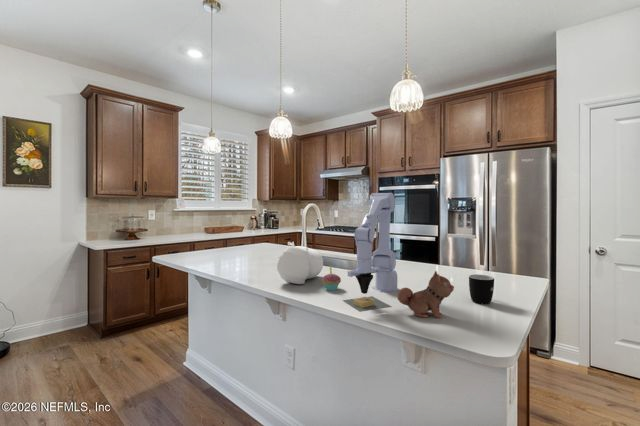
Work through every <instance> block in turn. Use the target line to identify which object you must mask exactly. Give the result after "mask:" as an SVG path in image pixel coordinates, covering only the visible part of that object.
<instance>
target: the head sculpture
mask: <svg viewBox="0 0 640 426" xmlns="http://www.w3.org/2000/svg"><path fill="white" fill-rule="evenodd" d="M287 245H288V246H287V247H286V248H285V249H284V250H283V251H282V253H281V255H280V256H279V257H278V260H277V263H276V270H277V272H278V274H279V276H280V278H281V280H283V281H285V282H288V283H290V284H295V285H303V284H305V283H306V280H308V279H313V278H316V277H317V276H319V275H320V273H321V272H322V270H323V267H324V259H323V256H322V255H321V253H320V252H319V251H317V250H316V249H313V248H311V247H310V248H309V247H308V246H303V245H302V246H301V245H297V246H296V245H295V244H294V243H293V242H291V241H288V242H287Z"/></svg>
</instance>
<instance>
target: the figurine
mask: <svg viewBox="0 0 640 426" xmlns="http://www.w3.org/2000/svg"><path fill="white" fill-rule="evenodd" d="M454 289H455V286H454V285H452V284H451V282H450V280H449V279H448V278H447V277H445V276H442V275H440V274H439V273H438V272H437V270H435V271H434V274H433V275H432V276H431V277H430V279H429V281H428V285H427V286H426V288H425V289H422V290H419V291H416V292H413V290H412V289H410V288H409V287H402V288H400V290H398V293H397V300H398V302H399V303H401V304H402V305H405V306H407V307H408V308H409V309H410V310H411V311H413V313H414V315H415V316H416V317H419V318H424V319H425V318H426V319H427V318H429V314H428V313H427V312H430V311H431V313H432V315H433V316H434V317H435V318H442V317H443V314H441V312H440V306H441V304H442V301H444V299H445V298H448V297H450V295H451V293H452V292H454Z"/></svg>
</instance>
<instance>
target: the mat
mask: <svg viewBox="0 0 640 426" xmlns="http://www.w3.org/2000/svg"><path fill="white" fill-rule="evenodd" d="M367 297H368V298H370V299H373V300H374V305H372V306H368V307H364V308H361V307H359V306H356V305H354V299H357V298H358V297H356V298H349V299H342V300H341V301H343V302H344V303H345V304H347V305H349V306H350V307H351V308H353V309H355V310H356V311H358V312H366V311H372V310H381V309H386V308H392V305H390V304H388V303H386V302H384V301H382V300H380V299H378V298H377V297H374V296H367Z"/></svg>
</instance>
